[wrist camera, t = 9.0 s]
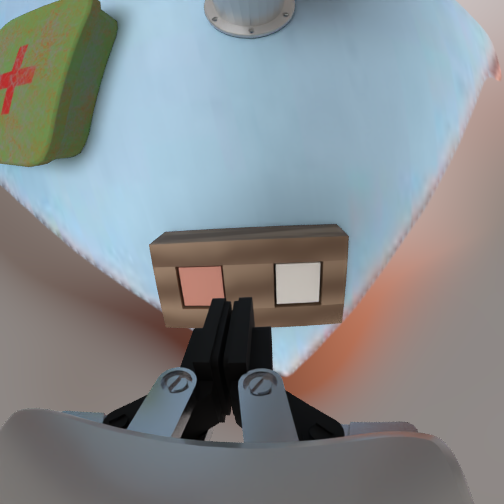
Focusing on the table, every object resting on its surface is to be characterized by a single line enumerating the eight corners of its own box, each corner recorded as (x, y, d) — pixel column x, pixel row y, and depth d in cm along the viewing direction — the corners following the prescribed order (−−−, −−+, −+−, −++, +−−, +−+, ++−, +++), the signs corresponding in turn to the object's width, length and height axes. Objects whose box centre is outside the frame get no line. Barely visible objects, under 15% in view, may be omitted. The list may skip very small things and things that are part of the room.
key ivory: (274, 252, 37) (275, 264, 33) (314, 250, 37) (320, 262, 33) (275, 288, 39) (276, 303, 35) (313, 286, 39) (318, 301, 35)
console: (164, 232, 38) (149, 244, 33) (336, 224, 37) (348, 236, 31) (177, 306, 42) (166, 327, 37) (332, 301, 41) (341, 322, 35)
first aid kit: (30, 35, 26) (-1, 25, 17) (129, 12, 27) (100, -13, 18) (0, 155, 35) (-35, 160, 25) (87, 164, 36) (46, 170, 26)
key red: (187, 255, 38) (178, 267, 34) (225, 254, 38) (220, 266, 34) (192, 290, 40) (185, 305, 36) (229, 289, 40) (225, 305, 35)
